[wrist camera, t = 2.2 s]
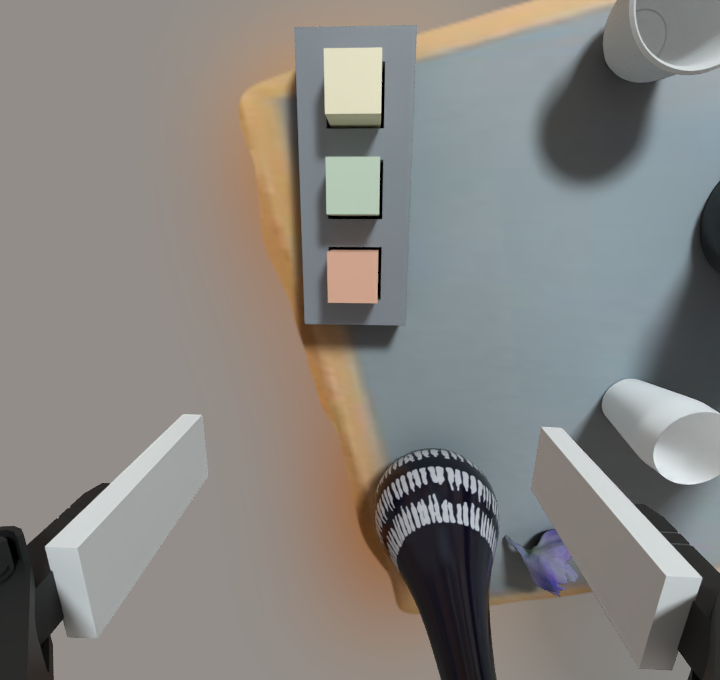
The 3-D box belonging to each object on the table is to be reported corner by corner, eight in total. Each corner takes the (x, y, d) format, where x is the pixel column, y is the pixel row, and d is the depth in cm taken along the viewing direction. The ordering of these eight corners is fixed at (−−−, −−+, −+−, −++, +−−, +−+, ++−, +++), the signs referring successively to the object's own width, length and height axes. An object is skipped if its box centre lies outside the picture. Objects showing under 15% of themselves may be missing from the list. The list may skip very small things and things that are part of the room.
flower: (499, 595, 54) (581, 620, 49) (501, 530, 55) (581, 548, 50) (509, 571, 62) (581, 591, 57) (510, 515, 63) (581, 529, 58)
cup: (640, 438, 54) (712, 495, 42) (580, 420, 54) (635, 472, 42) (674, 381, 51) (760, 425, 40) (611, 361, 51) (679, 399, 40)
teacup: (732, -25, 40) (846, -107, 30) (647, 126, 44) (724, 97, 34) (628, -77, 39) (710, -179, 29) (551, 81, 43) (602, 38, 33)
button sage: (332, 167, 44) (325, 156, 38) (379, 167, 44) (380, 156, 37) (333, 216, 45) (326, 214, 39) (379, 216, 45) (379, 214, 39)
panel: (303, 49, 43) (294, 27, 38) (412, 48, 42) (416, 25, 38) (311, 315, 51) (304, 324, 46) (402, 316, 51) (405, 325, 46)
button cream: (331, 75, 41) (323, 48, 35) (381, 75, 41) (382, 47, 35) (332, 130, 43) (324, 113, 37) (380, 130, 43) (381, 113, 36)
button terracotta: (333, 248, 46) (326, 251, 40) (378, 249, 46) (378, 252, 40) (334, 293, 48) (327, 302, 41) (377, 293, 47) (377, 303, 41)
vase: (356, 498, 59) (336, 749, 30) (403, 412, 54) (430, 610, 26) (450, 537, 60) (515, 814, 31) (503, 455, 56) (633, 690, 27)
